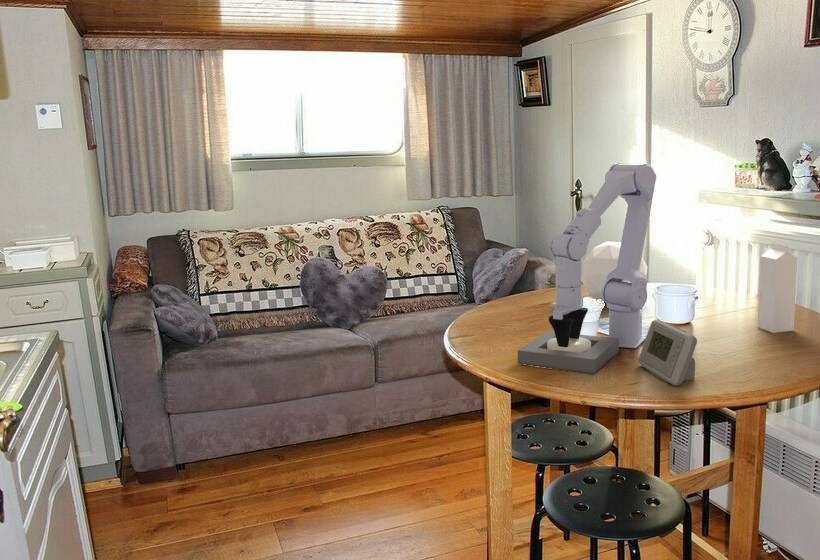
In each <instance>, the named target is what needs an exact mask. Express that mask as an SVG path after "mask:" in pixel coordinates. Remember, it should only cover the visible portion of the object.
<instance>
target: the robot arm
mask: <svg viewBox="0 0 820 560" xmlns="http://www.w3.org/2000/svg"><path fill="white" fill-rule="evenodd" d="M656 181H657V174H656V173H655V170H654V169H653V167H652V165H650V164H649V163H625V164H624V163H619V162H618V163H613V164H612V165H611V166H610V167H609V169H608V171H606V172H605V175H604V183H603V184H602V186H601V187H600V189H599V190H598V191H597V194H596V195H595V196H594V198H593V199H592V201H591V203H590V205H588V207H587V208H582V209H579V210H577V212H576V213H575V216H574V217H573V219H572V220H571V221H570V222H569V223H568V225H567V226H566V227H565V229H564V230H563V232H560V233H557V234H556V235H555V236H554V237H553V238H552V240H551V243H550V246H549V251H550V254H551V256H552V257H553V263H554V265H555V301H554V302H551V303H550V306H551V307H554V310H552V314H551V315H550V316H549V317H548V322H549V323H550V325H551V328H552V329H553V332H555V336H556V340H557V344H558V346H559V347H568V344H569V338H574V339H579V337H580V335H581V332H582V327H583V323H584V320H585V318H586V316H587V314H588V311H589V308H587V307H583V306H584V297H582V281H581V274H582V259H583V257H584V256H586V254H587V252H588V246H589V245H588V244H589V242H590V239H591V238H592V237H593V236H594V234H595V232H596V231H597V230H598V228H599V227H601V225H602V219H601V218H602V215H603V214H604V213H605V212H606V211H607V209H609V207H610V206H611V205H612V204H613V203H614V202H615V201H616V199H617V198H618V197H619V196H620V197H621V198H622V199H624V200H625V203H626V204H627V208H626V214H625V219H624V220H625V221H624V225H623V229H622V230H623V231H622V237H621V241H620V242H621V246H620V252H619V257H618V263H617V268H615V269H614V270H613V271H611V272H610V273H609V274H608V275H607V280H606V282H605V284H604V286H603V289H602V298H603V301H604V302H605V303H607V304H606V308H608V337H609V338H619V348H624V349H625V348H626V349H637V348H638V347H639V346H640V345H641V344H643V343H644V341H645V339H646V336H643V334H642V333H643V332H642V331H643V328H642V327H643V315H642V312H641V310H643V308H644V306H645V305H646V303H647V300H648V290H647V289H648V288H647V285H648V279H647V277H646V278H645V277H644V276H643V275H642V274H641V273H640V271H639V270H640V264H641V259H642V257H643V252H644V247H645V241H646V237H647V231H648V226H649V219H650V214H651V210H652V209H651V208H652V203H653V197H654V191H655V187H656ZM623 280H628V281H630V282H631V283H628V282H622V281H623Z"/></svg>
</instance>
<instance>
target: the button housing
mask: <svg viewBox="0 0 820 560" xmlns="http://www.w3.org/2000/svg"><path fill="white" fill-rule="evenodd" d="M580 337H581V338H585V339H588V340H590V341H591V348H590V349H589V350H588V351H586V352H585V353H577V352H568V351H560V350H551V349H547V341H548V340H550V339H552V338H556V336H555V332H554V331H548V330H547V331H545V332H543V333H542V334H540V335H539V336H537V337H535V338H534V339H533V340H531V341H529V342H528V343H526V344H525V345H523V346H522V347H520V348H519V349H518V350H517V364H518V363H519V364H526V365H533V366H539V367H546V368H552V369H551V370H553V369H558V370H557V371H561V370H565V371H564V372H568V371H571V373H576V372H577V374H585V375H591V376H592V375H593V376H595V375H596V374H597V373H598V372H599V371H600V370H602V369H603V367H605V366H606V365H607V364H608V363H610V361H612V359H614V358H615V357H616V356H617V355H618V354H619V353H620V352H619V350H620V347H619V338H609V336H608V337H607V336H598V335H597V336H596V335H587V334H580Z"/></svg>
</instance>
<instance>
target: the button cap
mask: <svg viewBox="0 0 820 560" xmlns="http://www.w3.org/2000/svg"><path fill="white" fill-rule="evenodd" d="M590 348H591V341H590V340H588V339H585V338H581V337H579V339H574V338H569V344H568V347H559V346H558V344H557V340H556V338H552V339H550V340H548V341H547V349H551V350H560V351H568V352H577V353H585V352H586V351H588V350H589V349H590Z"/></svg>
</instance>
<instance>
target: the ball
mask: <svg viewBox="0 0 820 560" xmlns="http://www.w3.org/2000/svg"><path fill="white" fill-rule="evenodd" d="M620 246H621V241H605V242H602V243H601V244H599V245H597V246H594V247H593V248H592V249H591V251H590V252H589V253H588V255H587V256H586V257H585V258H584V260H583V261H581V283H582V284H583V285H584V288H585V289H586V291H587V293H588V295H590V296H591V297H592V298H594V299H596V300H597V299H602V300H603V298H602V289H603V286H604V284H605V282H606V280H607V275H608V274H609V273H610V272H611V271H613V270H614V269H615V268H617V263H618V257H619V252H620ZM639 271H640V273H641V274H642V275H643V276H644V277H645V278H646V279H647V275H648V265H647V263H646V261H645V259H644V257H643V256H642V259H641V264H640V270H639ZM622 282H630V281H628V280H623V281H622ZM630 283H631V282H630ZM606 305H607V303H606Z"/></svg>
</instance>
